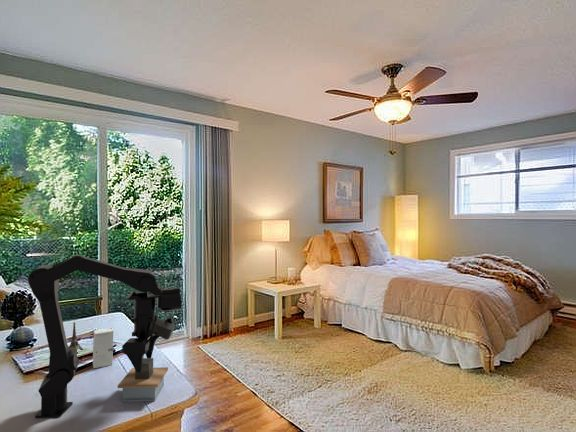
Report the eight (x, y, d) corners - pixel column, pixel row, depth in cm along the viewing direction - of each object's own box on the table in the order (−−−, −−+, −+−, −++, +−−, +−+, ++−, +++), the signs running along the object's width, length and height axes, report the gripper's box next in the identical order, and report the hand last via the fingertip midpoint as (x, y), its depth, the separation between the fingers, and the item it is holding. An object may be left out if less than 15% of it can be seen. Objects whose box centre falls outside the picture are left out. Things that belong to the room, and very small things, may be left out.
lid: (157, 387, 99) (157, 368, 99) (117, 388, 98) (117, 369, 98) (168, 369, 110) (168, 353, 110) (132, 370, 109) (132, 353, 109)
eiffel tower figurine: (91, 345, 142) (91, 312, 142) (100, 352, 135) (100, 318, 135) (47, 355, 131) (47, 320, 131) (54, 364, 124) (55, 326, 124)
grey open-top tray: (154, 401, 100) (155, 385, 100) (122, 402, 99) (122, 386, 99) (163, 385, 109) (163, 371, 109) (134, 386, 108) (134, 371, 108)
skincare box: (93, 369, 120) (93, 333, 119) (92, 364, 123) (92, 330, 123) (113, 364, 123) (113, 330, 123) (111, 360, 127) (112, 327, 127)
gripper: (163, 322, 95) (163, 379, 95) (179, 304, 114) (179, 352, 114) (121, 323, 94) (120, 380, 94) (144, 304, 113) (144, 352, 113)
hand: (144, 365), depth 104 cm, fingers open, 9 cm apart
